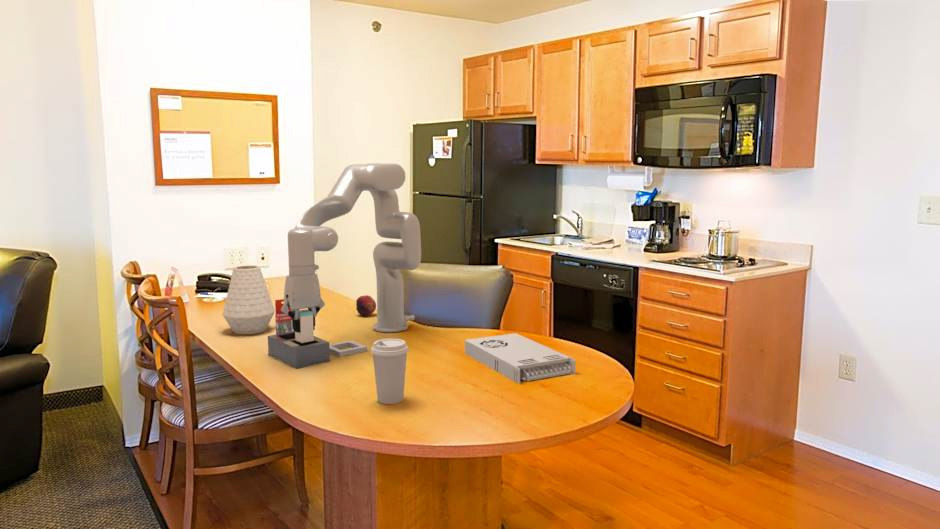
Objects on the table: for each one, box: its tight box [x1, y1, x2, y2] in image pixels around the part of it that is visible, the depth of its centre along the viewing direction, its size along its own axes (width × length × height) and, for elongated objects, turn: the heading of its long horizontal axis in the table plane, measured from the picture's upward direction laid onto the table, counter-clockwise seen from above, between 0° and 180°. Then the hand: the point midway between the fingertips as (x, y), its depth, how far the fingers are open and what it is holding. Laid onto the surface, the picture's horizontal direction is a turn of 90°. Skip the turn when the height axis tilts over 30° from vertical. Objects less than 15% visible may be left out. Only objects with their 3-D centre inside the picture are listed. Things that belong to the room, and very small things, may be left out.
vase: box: [222, 264, 276, 336], centre depth 234 cm, size 18×17×23 cm
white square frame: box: [329, 339, 368, 358], centre depth 212 cm, size 10×10×2 cm
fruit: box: [355, 294, 377, 317], centre depth 259 cm, size 8×8×8 cm
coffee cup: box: [370, 338, 410, 405], centre depth 167 cm, size 10×10×15 cm
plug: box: [295, 308, 315, 343], centre depth 199 cm, size 4×4×9 cm
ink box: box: [274, 298, 294, 335], centre depth 221 cm, size 4×8×15 cm, turn 123°
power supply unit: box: [464, 332, 577, 385], centre depth 199 cm, size 19×33×5 cm, turn 27°
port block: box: [267, 331, 331, 370], centre depth 204 cm, size 11×19×6 cm, turn 41°
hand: (304, 329), depth 199 cm, fingers closed on plug, 4 cm apart
